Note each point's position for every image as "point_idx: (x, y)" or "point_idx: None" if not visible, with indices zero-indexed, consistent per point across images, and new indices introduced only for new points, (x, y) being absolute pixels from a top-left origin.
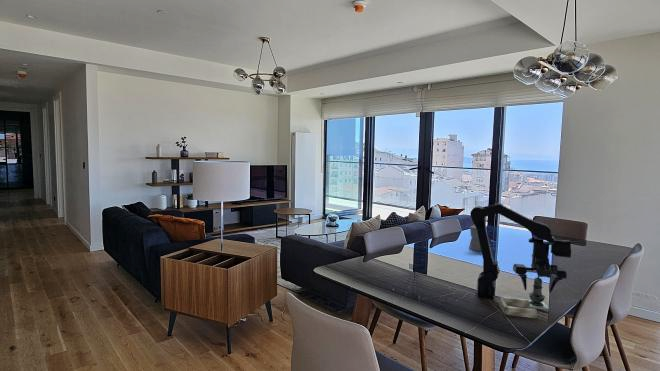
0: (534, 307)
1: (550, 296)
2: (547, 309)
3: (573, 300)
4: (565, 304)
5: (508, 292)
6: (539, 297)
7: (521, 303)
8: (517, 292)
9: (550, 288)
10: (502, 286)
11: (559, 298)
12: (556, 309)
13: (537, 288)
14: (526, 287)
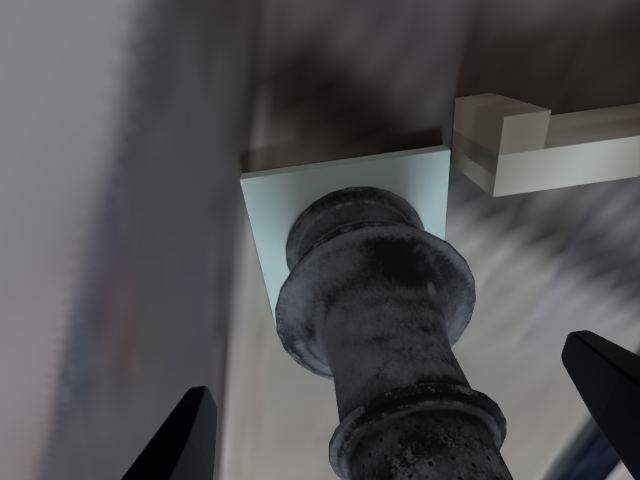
0: (393, 155)
1: None
2: (253, 173)
3: (49, 464)
4: (93, 375)
5: (506, 409)
6: (364, 247)
7: (567, 127)
8: None
9: (180, 461)
10: None
11: None
12: (160, 223)
13: (436, 381)
14: (615, 366)
